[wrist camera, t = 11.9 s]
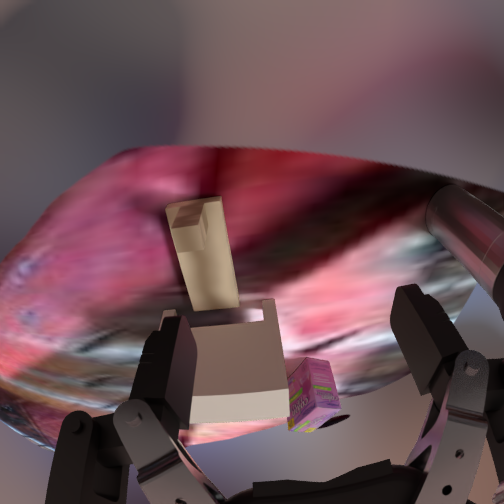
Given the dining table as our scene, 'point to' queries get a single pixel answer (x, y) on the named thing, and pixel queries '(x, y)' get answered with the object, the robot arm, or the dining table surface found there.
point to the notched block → (239, 371)
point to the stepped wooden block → (204, 252)
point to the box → (312, 396)
